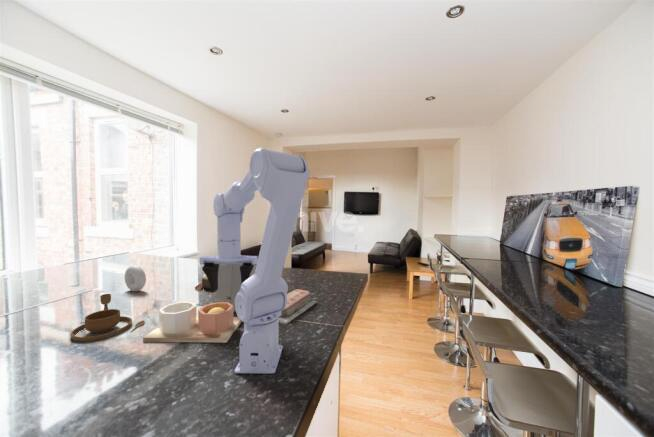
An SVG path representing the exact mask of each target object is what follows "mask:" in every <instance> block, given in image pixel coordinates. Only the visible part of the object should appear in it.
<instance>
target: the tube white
mask: <svg viewBox="0 0 654 437" xmlns="http://www.w3.org/2000/svg"><path fill="white" fill-rule="evenodd" d="M158 314H159V322H158V323H159V326H158V327H159V329H160V330H161V332H162V333H164V334H176V333H180V332H183V331H186V330H189V329H191V328H192V327H193V326H194V325H195V324H196V323H197V318H196V316H197V304H196V303H194V302H192V301H178V302H174V303H169V304H166V305H165V306H163V307H162V308H160V309H159V310H158Z"/></svg>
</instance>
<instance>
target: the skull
mask: <svg viewBox="0 0 654 437" xmlns="http://www.w3.org/2000/svg"><path fill="white" fill-rule="evenodd" d="M203 273H204V272H203ZM194 289H195V291H196V292H201V291H203V289H204V290H205V291H212V290H211V286H210V283H209V280H208V278H207V276H206V274H205V273H204V274H203V275H202V278H201V282H200V283H199V284H197V285H196V286H195V287H194Z"/></svg>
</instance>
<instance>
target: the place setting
mask: <svg viewBox="0 0 654 437" xmlns="http://www.w3.org/2000/svg"><path fill="white" fill-rule="evenodd" d="M99 297H100V298H99V299H100V300H99V301H100V304H101V305H103V310H98V311H95V312H92V313H90V314H88V315H86V316H85V317H84V323H83V324H81V325H79V326H77V327H75V328H74V329H73V330H72V331H71V332H70V337H71V339H72V340H73V341H75V342H81V343H83V342H85V343H87V342H93V341H95V342H96V341H99V340H103V339H107V338H108V339H109V338H111V337H114V336H117V335H119V334H122V333H123V332H125V331H126V330H128V329H129V328H130V326H132V324H133V320H132V319H133V318H131V317H129V316H124V315H122V316H121V310H120V309H118V308H117V309H116V308H115V309H114V308H113V309H112V308H111V309H110V308H109V307H108V305H109V304H110V303H111V301H112V294H111V293H104V294H101V295H100V296H99ZM120 322H121V323H126V325H125V326H123V327H121V328H119V329H116V330H113V329H114V327H117V325H118V324H119V323H120ZM144 325H145V320H141V321H139V322H137V323H136V324H135V326H134V328H133V329H132V330H130V333H133V332H134V331H136V329H138V328H140V327H142V326H144ZM84 328H86V329H85V330H86V331H87V332H90V333H92V334H95V335H92V336H77V335H78V334H79V333H78V332H79V331H81V330H83V329H84ZM112 330H113V331H112ZM83 331H84V330H83ZM81 332H82V331H81ZM77 333H78V334H77ZM76 334H77V335H76ZM75 335H76V336H75Z"/></svg>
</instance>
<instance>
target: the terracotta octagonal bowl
mask: <svg viewBox="0 0 654 437" xmlns="http://www.w3.org/2000/svg"><path fill="white" fill-rule="evenodd" d="M216 307H220V308H222V309H224V310H225V311H222V312H218V313H208V312H209V311H210V310H211V309H213V308H216ZM197 316H198V330H199V331H200V332H201V333H202V334H218V333H221V332H224V331H227V330H229V329H230V328H231V327H232V325H233V317H234V312H233V305H232V304H230V303H228V302H217V303H213V302H212V303H209V304H205V305H203V306H201V308H200V309H198V311H197Z"/></svg>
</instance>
